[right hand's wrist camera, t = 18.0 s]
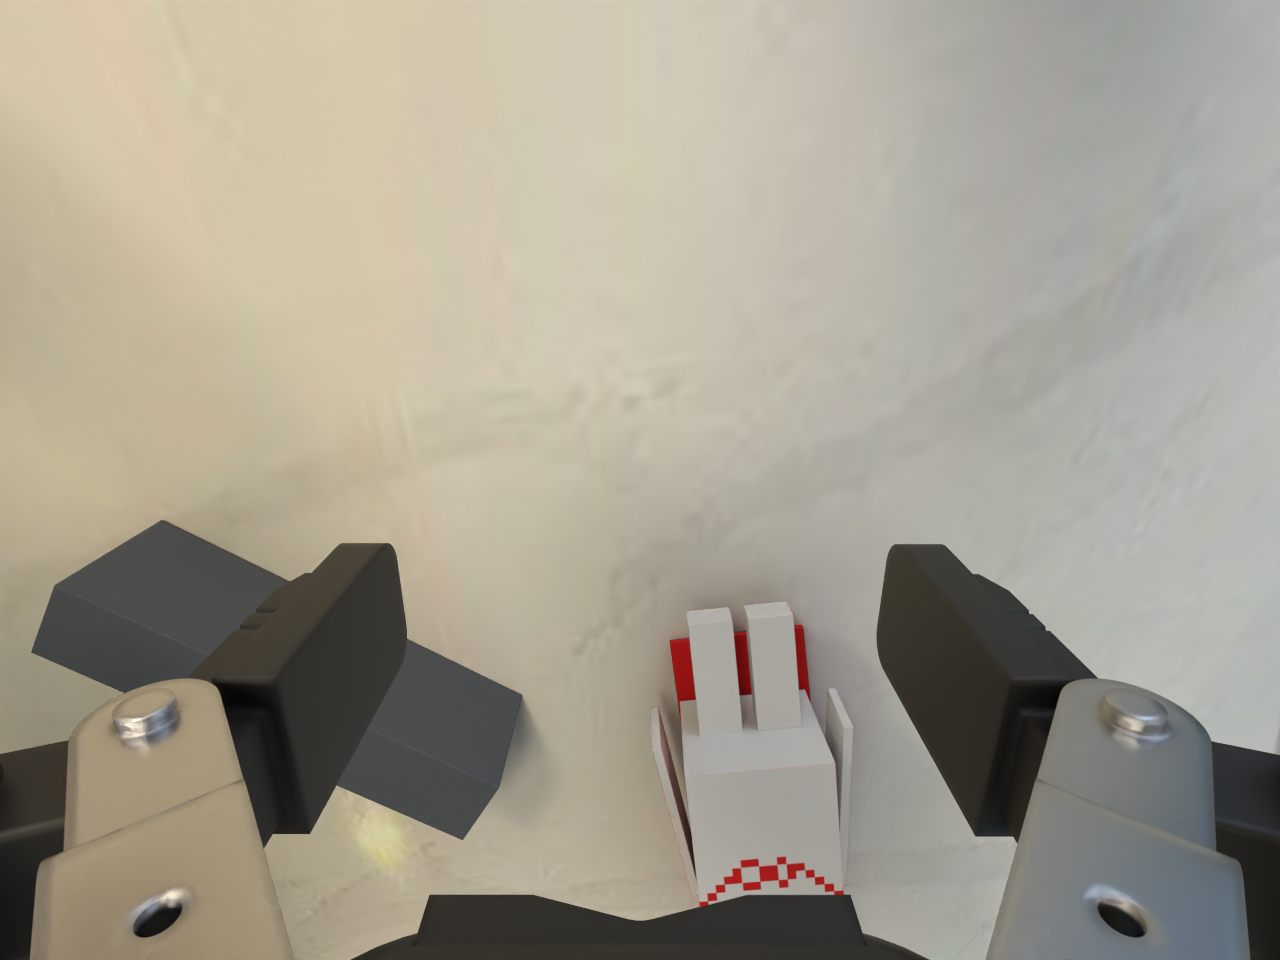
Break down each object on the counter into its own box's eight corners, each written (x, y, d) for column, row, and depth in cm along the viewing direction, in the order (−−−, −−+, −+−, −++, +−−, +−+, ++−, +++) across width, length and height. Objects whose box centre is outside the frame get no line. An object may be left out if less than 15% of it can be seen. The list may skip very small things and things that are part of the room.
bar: (522, 694, 49) (499, 787, 41) (491, 741, 50) (462, 840, 42) (162, 519, 44) (54, 584, 36) (138, 576, 45) (30, 652, 37)
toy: (862, 645, 36) (884, 1086, 42) (807, 561, 49) (830, 907, 55) (635, 667, 36) (691, 1099, 43) (640, 578, 50) (682, 919, 56)
